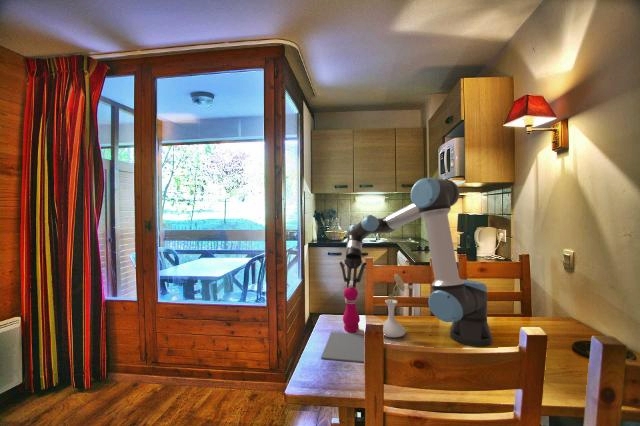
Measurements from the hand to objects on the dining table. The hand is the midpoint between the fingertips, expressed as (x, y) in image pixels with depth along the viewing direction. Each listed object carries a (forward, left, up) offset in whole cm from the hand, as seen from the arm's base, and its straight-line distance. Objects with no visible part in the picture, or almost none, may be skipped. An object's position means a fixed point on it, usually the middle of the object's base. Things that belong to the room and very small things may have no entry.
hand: (350, 295), depth 133 cm
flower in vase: (-18, -1, -14) cm, 23 cm away
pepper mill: (-1, +2, -14) cm, 14 cm away
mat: (-5, +18, -14) cm, 24 cm away
